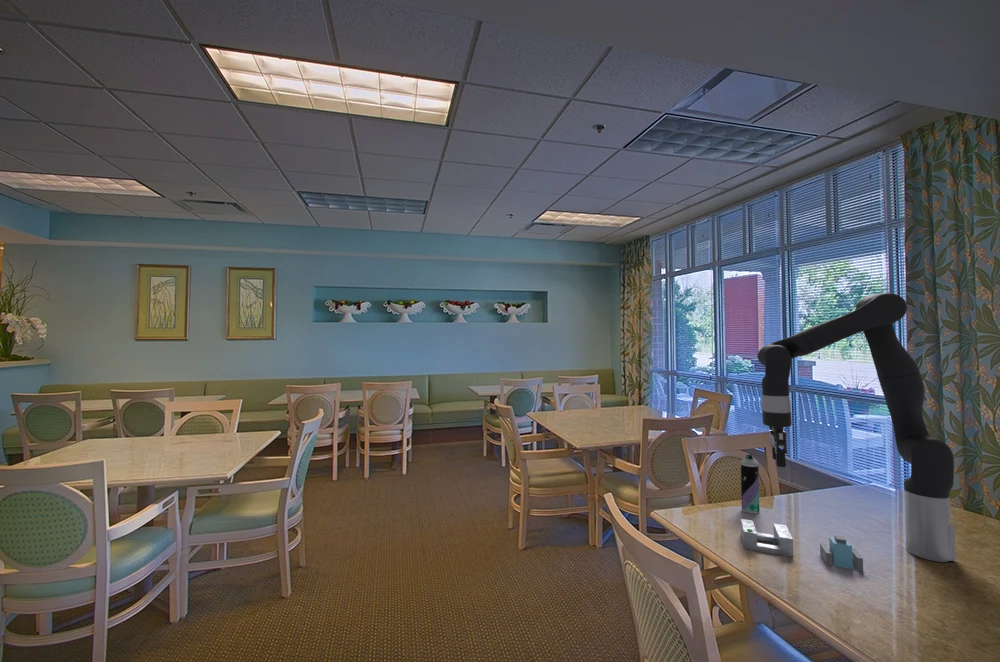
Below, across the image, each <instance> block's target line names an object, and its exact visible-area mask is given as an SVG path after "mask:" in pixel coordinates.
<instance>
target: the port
mask: <svg viewBox="0 0 1000 662" xmlns="http://www.w3.org/2000/svg"><path fill="white" fill-rule="evenodd" d="M772 525H773V534H769V533H762V532H757V528H756V527H755V523H754V521H753V520H751V519H746V518H740V536H741V541H742V544H743V548H744V550H747V549H751V550H750V551H753V550H756V551H755V552H759V551H761V553H765V552H768V553H767V554H771V553H774V554H773V555H777V554H780V555H779V556H783V555H784V557H789V556H790V558H791V557H792V558H794V539H793V536H792V534H791V531H790V530H789V528H788V526H787V525H786V524H780V523H773V524H772ZM758 540H761V541H760V542H761V543H760V542H758ZM764 541H766V542H765V543H762V542H764ZM770 542H771V543H772V544H767V543H770ZM774 544H775V545H774Z"/></svg>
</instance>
